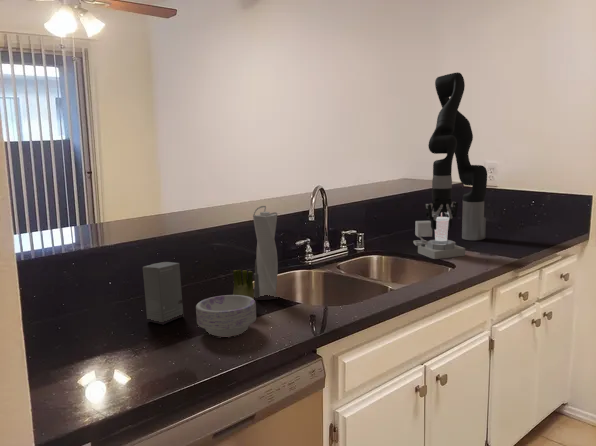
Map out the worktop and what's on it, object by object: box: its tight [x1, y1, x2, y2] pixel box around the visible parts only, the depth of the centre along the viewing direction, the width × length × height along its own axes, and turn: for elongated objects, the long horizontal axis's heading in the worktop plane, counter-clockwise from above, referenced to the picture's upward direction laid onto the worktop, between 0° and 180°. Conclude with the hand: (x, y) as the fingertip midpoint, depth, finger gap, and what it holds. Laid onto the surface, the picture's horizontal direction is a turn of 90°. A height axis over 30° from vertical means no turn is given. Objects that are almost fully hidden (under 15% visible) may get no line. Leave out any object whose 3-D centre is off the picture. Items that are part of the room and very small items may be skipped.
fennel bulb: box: [232, 269, 254, 299], centre depth 157 cm, size 6×5×12 cm
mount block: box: [417, 239, 466, 260], centre depth 219 cm, size 14×12×5 cm
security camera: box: [413, 220, 433, 247], centre depth 239 cm, size 6×7×10 cm
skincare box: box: [142, 261, 184, 322], centre depth 151 cm, size 8×7×16 cm
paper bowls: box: [195, 294, 257, 336], centre depth 141 cm, size 15×15×8 cm
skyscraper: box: [252, 205, 279, 298], centre depth 168 cm, size 8×8×28 cm
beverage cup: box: [434, 212, 449, 241], centre depth 218 cm, size 6×6×14 cm
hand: (441, 228), depth 218 cm, fingers closed on beverage cup, 6 cm apart
